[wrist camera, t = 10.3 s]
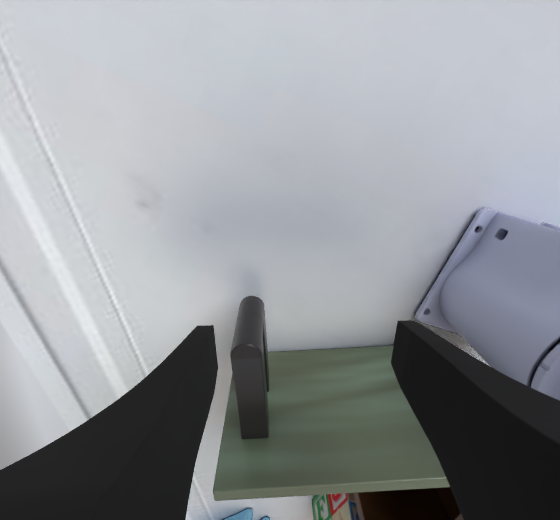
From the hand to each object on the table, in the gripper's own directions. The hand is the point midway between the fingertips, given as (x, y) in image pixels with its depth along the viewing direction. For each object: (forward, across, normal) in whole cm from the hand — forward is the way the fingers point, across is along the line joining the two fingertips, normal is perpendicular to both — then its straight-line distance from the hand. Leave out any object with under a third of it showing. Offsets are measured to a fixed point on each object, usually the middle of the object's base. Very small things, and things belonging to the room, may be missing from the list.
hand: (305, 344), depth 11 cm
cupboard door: (+10, -3, +6) cm, 12 cm away
